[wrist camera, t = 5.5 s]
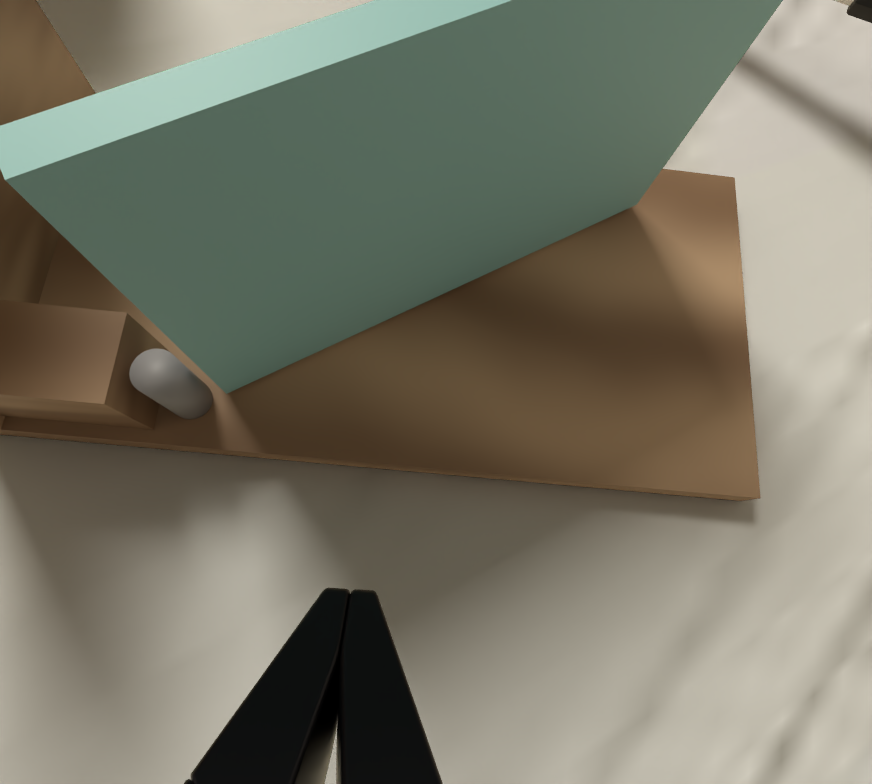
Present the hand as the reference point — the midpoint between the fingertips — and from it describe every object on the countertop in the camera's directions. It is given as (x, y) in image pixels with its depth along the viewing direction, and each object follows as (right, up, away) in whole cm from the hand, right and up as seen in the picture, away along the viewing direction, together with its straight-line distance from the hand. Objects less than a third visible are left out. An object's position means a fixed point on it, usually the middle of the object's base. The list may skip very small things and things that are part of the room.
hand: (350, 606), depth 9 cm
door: (+1, +7, +9) cm, 11 cm away
